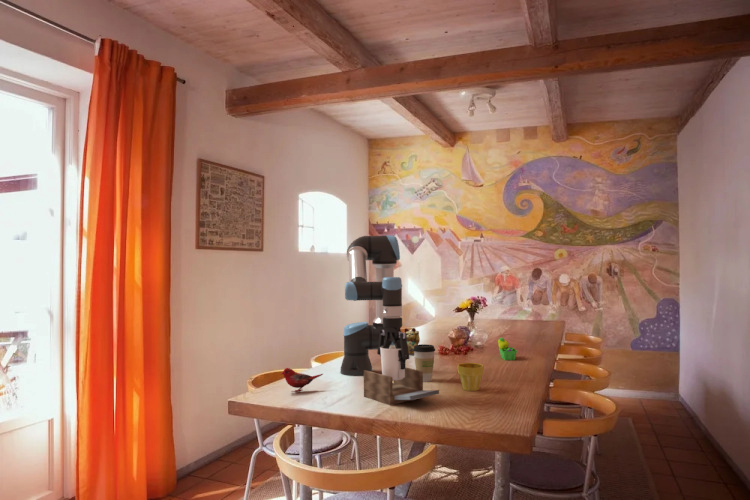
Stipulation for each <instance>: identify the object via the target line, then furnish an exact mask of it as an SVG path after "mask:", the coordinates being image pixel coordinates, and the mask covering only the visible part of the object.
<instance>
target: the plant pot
mask: <svg viewBox="0 0 750 500" xmlns="http://www.w3.org/2000/svg"><path fill="white" fill-rule="evenodd" d="M484 367H485V366H484V365H483V364H482V363H477V362H462V363H458V364H457V374H458V375H459V378H460V382H461V386H462V390H464V391H467V392H476V391H479V390H480V387H481V382H482V377H483V375H484V372H485V371H484V369H485V368H484Z"/></svg>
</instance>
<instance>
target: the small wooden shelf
mask: <svg viewBox="0 0 750 500" xmlns="http://www.w3.org/2000/svg"><path fill="white" fill-rule="evenodd" d="M423 390H424V382H423V371H419V370H416V368H410V367H406V366H405V377H404V378H403V379H402V380H395V381H392V377H390V376H386V375H382V373H377V372H374V371H372V372H371V371H367V370H365V371H364V375H363V398H367V399H370V400H373V401H375V402H378V403H383V404H385V405H388V406H394V405H398V404H402V403H405V402H411V401H412V400H394V396H398V395H403V394H407V393H412V392H416V391H423Z"/></svg>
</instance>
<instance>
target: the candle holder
mask: <svg viewBox="0 0 750 500" xmlns="http://www.w3.org/2000/svg"><path fill="white" fill-rule="evenodd" d="M398 350H401V348H400V349H396V347H395V345H390V347H389V349H384V348H383V346H381V347H380V352H381V356H380V362H381V364H380V365H381V374H382V375H386V376H390V377H392V382H394V381H395V380H402V379H403V378H398V360H399V357H398Z"/></svg>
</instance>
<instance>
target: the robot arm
mask: <svg viewBox="0 0 750 500" xmlns="http://www.w3.org/2000/svg"><path fill="white" fill-rule="evenodd" d="M398 241H399V240H398V238H397V237H396V236H395V235H387V234H386V235H363V236H359V237H358V238H355V240H353V241H352V242H351V243H350V245H349V246H348V247H347V249H346V260H347V261H348V270H349V271H348V276H349V277H348V278H349V279H348V281H347V282H345V283H344V299H345V300H346V301H353V302H355V301H356V302H357V301H375V318H374V319H372V324H369V322H368V321H359V322H358V321H357V322H353V323H349V324H346V325H345V326H344V327H343V344H344V345H343V359H342V362H341V365H340V373H341V374H342V375H346V376H364V371H365V370H367V371H371V372H373V365H372V362H371V360H370V355H369V351H370V350H373V351H374V350H377V351H376V353H377V355H379V356H380V357H381V352H380V347H381V346H383V348H384V349H389V347H390V345H395V347H396V349H400V348H401V350H398V357H399V360H398V378H404V377H405V367H406V360H409V359H410V355H409V351H408V345H407V339H406V338H407V333H405V332H402V330H401V328H402V327H403V318H402V317H403V304H402V302H403V300H402V299H403V291H402V290H403V283H402V278H401V277H399V276H394V270H395V269H394V268H395V266H397V264H398V261H399V260H400V259H401V256H400V255H401V254H400V245H399V242H398ZM366 261H371V263H372V266H374V268H375V281H368V273H367V262H366Z"/></svg>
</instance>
